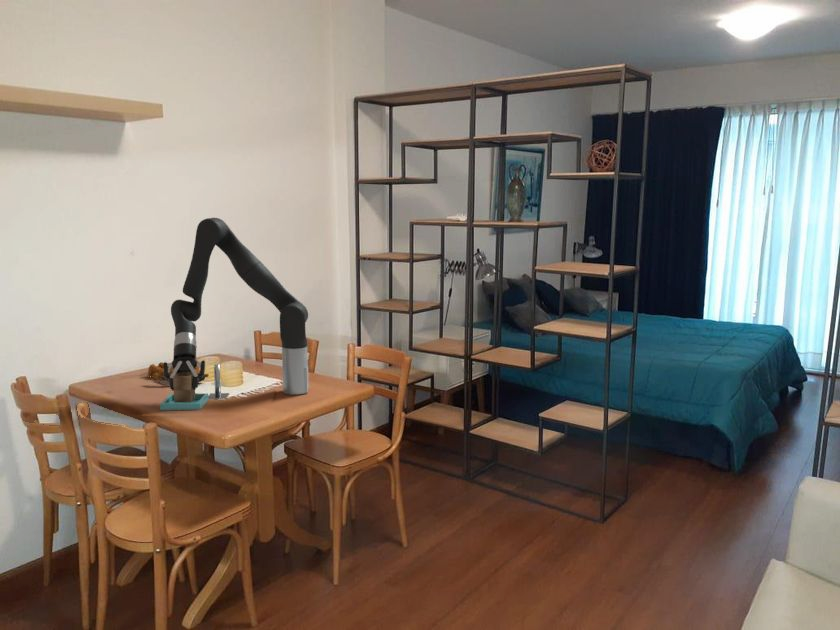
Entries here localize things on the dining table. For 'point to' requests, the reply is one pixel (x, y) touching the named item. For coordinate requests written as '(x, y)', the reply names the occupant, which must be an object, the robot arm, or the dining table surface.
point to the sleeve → (183, 387)
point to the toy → (159, 371)
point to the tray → (184, 403)
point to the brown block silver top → (217, 385)
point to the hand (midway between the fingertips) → (183, 388)
